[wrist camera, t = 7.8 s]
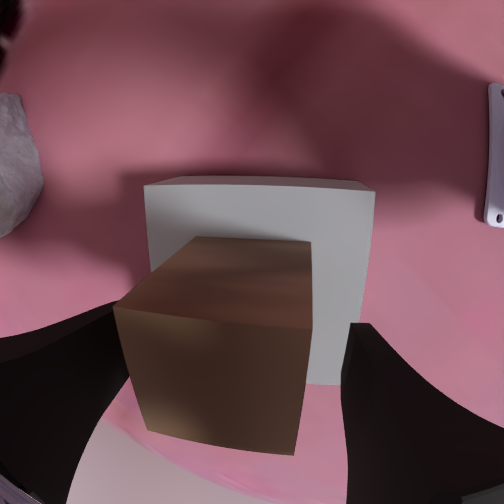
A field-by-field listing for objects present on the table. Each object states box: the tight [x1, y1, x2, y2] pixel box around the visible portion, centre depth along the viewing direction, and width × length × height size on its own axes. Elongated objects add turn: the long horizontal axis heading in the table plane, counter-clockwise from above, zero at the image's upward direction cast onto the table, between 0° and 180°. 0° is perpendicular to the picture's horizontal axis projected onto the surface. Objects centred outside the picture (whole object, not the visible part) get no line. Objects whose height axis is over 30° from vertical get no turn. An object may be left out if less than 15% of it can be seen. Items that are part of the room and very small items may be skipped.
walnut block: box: [113, 236, 313, 456], centre depth 10 cm, size 4×4×6 cm
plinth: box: [144, 176, 376, 385], centre depth 15 cm, size 9×9×4 cm
